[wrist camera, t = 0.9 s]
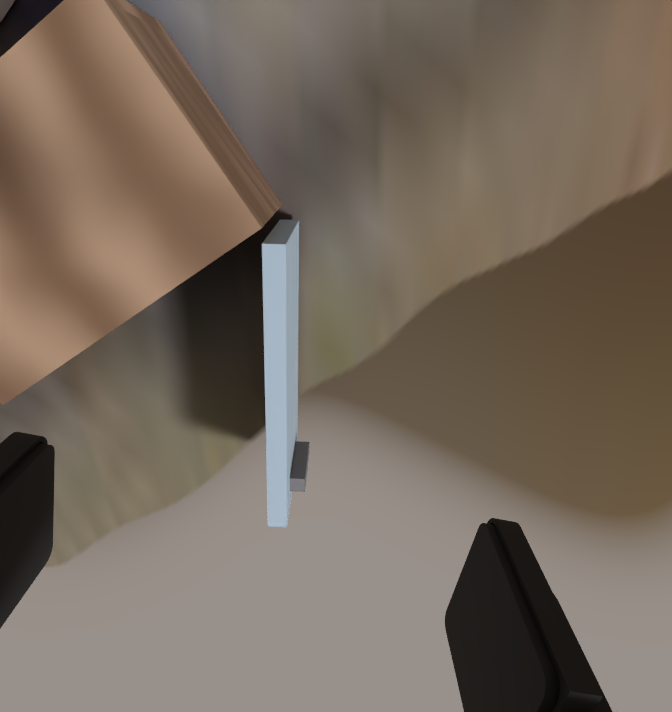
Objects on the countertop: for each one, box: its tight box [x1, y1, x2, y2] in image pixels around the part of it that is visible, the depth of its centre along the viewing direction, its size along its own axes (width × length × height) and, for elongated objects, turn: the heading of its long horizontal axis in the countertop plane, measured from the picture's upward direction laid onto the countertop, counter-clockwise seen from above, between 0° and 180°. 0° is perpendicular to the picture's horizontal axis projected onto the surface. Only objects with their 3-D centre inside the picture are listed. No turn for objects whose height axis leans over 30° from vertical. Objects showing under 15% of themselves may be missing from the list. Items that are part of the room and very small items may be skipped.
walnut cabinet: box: [0, 0, 282, 405], centre depth 29 cm, size 18×12×9 cm, turn 123°
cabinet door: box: [262, 219, 309, 527], centre depth 33 cm, size 18×2×8 cm, turn 178°
